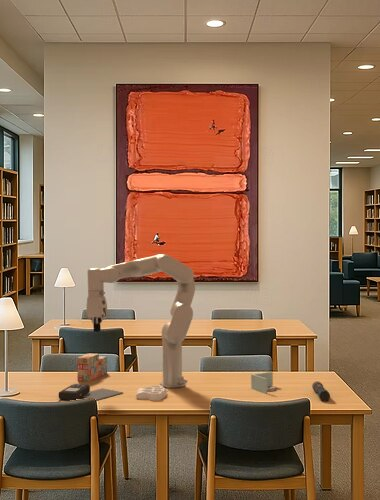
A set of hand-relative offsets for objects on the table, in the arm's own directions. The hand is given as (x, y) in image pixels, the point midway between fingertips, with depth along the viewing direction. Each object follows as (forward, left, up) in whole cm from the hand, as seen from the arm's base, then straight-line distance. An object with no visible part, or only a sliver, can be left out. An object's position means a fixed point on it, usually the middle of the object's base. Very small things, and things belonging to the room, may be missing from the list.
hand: (97, 331), depth 360 cm
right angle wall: (-66, -50, -29) cm, 88 cm away
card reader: (+1, +9, -26) cm, 27 cm away
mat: (-8, +7, -29) cm, 30 cm away
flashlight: (-92, -54, -29) cm, 111 cm away
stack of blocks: (+24, -20, -29) cm, 42 cm away
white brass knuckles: (-29, -7, -29) cm, 42 cm away
